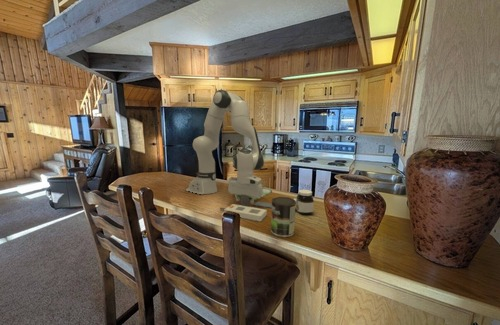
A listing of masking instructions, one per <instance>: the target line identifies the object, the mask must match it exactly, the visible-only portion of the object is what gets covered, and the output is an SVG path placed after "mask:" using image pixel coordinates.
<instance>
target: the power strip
mask: <svg viewBox="0 0 500 325" xmlns="http://www.w3.org/2000/svg"><path fill="white" fill-rule="evenodd" d="M219 209H220V210H221V211H222V210H223V213H224V212H226V211H232V212H236V213H239V214H240V217H241V218H240V219H242V220H247V221H253V222H258V223H261V222H262V221H263V220H264V219H265V218H266V217H267V215H268V210H267V209H266V208H265V209H264V208H260V207H254V206H249V207H247V206H241V204H234V203H232V204H230V205H229V206H227V207H226V208H225V207H220V208H219Z"/></svg>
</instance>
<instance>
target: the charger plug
mask: <svg viewBox="0 0 500 325" xmlns="http://www.w3.org/2000/svg"><path fill="white" fill-rule="evenodd" d="M240 205H241V206H247V207H250V200H249V196H247V195H243V194H241V197H240Z"/></svg>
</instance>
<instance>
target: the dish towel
mask: <svg viewBox="0 0 500 325" xmlns="http://www.w3.org/2000/svg"><path fill="white" fill-rule="evenodd" d="M262 188H263V195H262V196H261V197H256V198H255V199H254V202H256V201H257V200H260V199H261V198H263V197H266V196H268V195H269V194H271V193H272V192H273V190H272V189H271V188H269V187H264V186H262ZM233 196H234V197H235V194H233ZM238 197H239V198H241V195H239V194H238ZM252 199H253V198H252V196H249V201H250V200H252Z"/></svg>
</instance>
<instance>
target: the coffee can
mask: <svg viewBox="0 0 500 325" xmlns="http://www.w3.org/2000/svg"><path fill="white" fill-rule="evenodd" d="M271 203H272V209H271V220H270V221H271V222H270V223H271V224H270V225H271V226H270V232H271V234H273V235H274V236H275V237H281V238H289V237H292V236H293V235H294V234H295V222H296V221H295V220H296V201H295V200H294V198H291V197H286V196H278V197H274V198H272V199H271Z"/></svg>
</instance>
